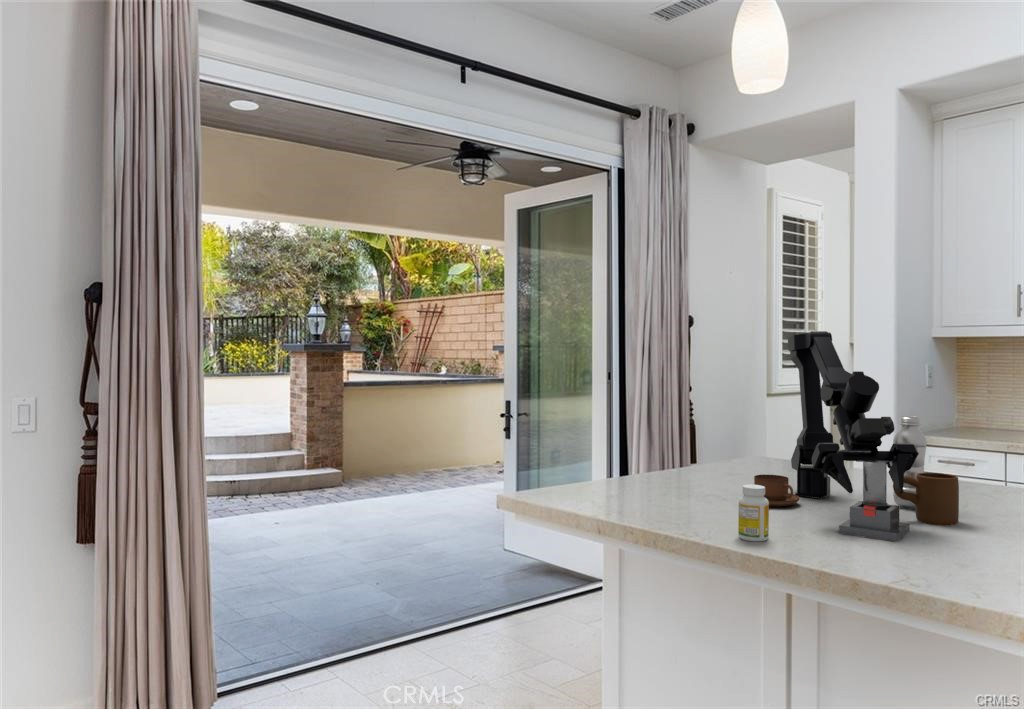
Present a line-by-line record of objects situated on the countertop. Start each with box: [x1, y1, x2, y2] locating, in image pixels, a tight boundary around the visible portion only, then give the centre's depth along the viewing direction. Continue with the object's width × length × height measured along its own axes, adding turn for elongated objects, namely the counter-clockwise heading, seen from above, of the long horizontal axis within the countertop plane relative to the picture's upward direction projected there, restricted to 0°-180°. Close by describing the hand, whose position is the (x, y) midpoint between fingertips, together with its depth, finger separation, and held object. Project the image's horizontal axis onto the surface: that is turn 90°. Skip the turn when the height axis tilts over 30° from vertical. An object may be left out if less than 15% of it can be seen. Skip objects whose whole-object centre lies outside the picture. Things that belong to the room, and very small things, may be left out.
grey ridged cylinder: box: [861, 460, 888, 510], centre depth 142 cm, size 4×4×12 cm
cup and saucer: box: [753, 474, 800, 508], centre depth 169 cm, size 12×12×6 cm
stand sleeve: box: [838, 500, 911, 543], centre depth 142 cm, size 10×10×6 cm
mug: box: [892, 472, 960, 526], centre depth 151 cm, size 12×8×9 cm, turn 77°
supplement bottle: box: [737, 484, 770, 542], centre depth 138 cm, size 5×5×10 cm
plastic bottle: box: [892, 415, 928, 509], centre depth 164 cm, size 6×7×20 cm
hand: (876, 492), depth 141 cm, fingers open, 9 cm apart
